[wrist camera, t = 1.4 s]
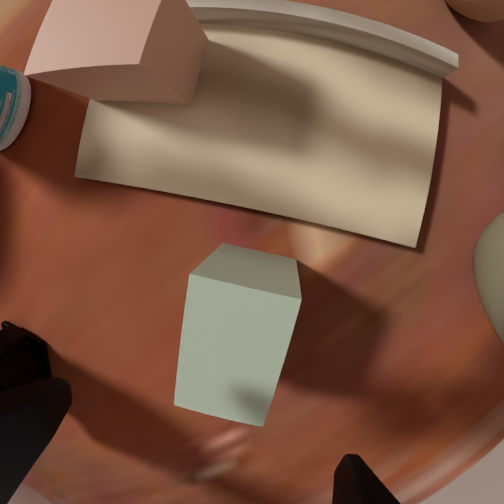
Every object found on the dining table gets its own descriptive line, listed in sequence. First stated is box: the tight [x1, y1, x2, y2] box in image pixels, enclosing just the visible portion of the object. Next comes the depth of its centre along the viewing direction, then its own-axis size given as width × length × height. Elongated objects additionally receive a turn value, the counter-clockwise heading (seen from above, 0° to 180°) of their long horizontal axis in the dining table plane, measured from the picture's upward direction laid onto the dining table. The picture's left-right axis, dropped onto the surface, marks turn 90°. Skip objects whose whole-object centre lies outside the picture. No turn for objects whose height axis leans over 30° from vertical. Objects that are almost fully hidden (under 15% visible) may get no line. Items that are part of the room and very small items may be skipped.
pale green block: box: [174, 243, 302, 427], centre depth 16 cm, size 5×7×7 cm
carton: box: [23, 0, 209, 106], centre depth 13 cm, size 5×7×7 cm
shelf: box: [74, 0, 458, 248], centre depth 15 cm, size 12×22×3 cm, turn 78°
